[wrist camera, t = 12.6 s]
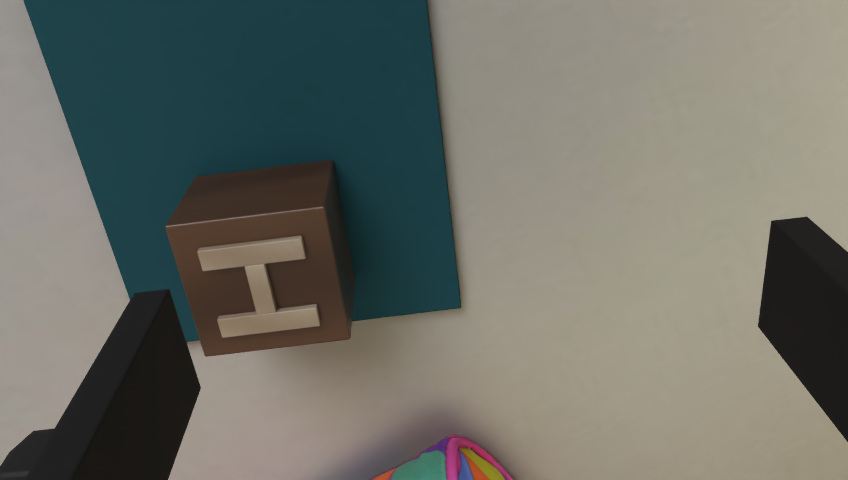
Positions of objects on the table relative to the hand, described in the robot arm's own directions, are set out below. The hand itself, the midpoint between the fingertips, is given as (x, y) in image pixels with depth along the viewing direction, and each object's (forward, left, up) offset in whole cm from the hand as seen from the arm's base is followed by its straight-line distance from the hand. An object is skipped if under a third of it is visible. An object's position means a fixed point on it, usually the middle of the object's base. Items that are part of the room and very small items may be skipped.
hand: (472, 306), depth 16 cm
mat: (-1, -7, -14) cm, 16 cm away
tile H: (+4, -7, -13) cm, 16 cm away
